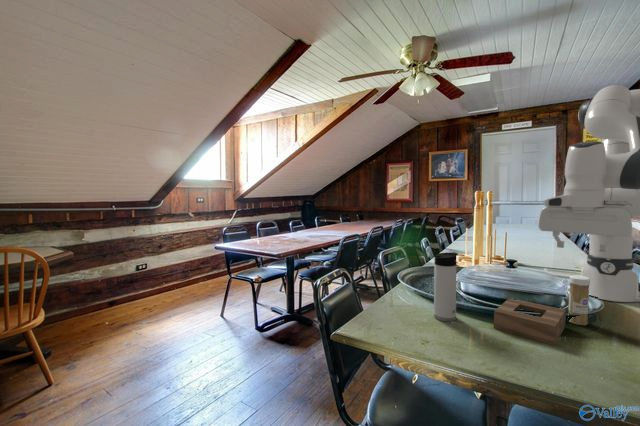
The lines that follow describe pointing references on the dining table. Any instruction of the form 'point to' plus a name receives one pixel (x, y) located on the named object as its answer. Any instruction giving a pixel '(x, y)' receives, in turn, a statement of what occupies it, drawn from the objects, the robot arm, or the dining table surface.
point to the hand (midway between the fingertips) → (581, 249)
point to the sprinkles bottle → (579, 299)
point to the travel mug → (445, 286)
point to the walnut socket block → (530, 320)
